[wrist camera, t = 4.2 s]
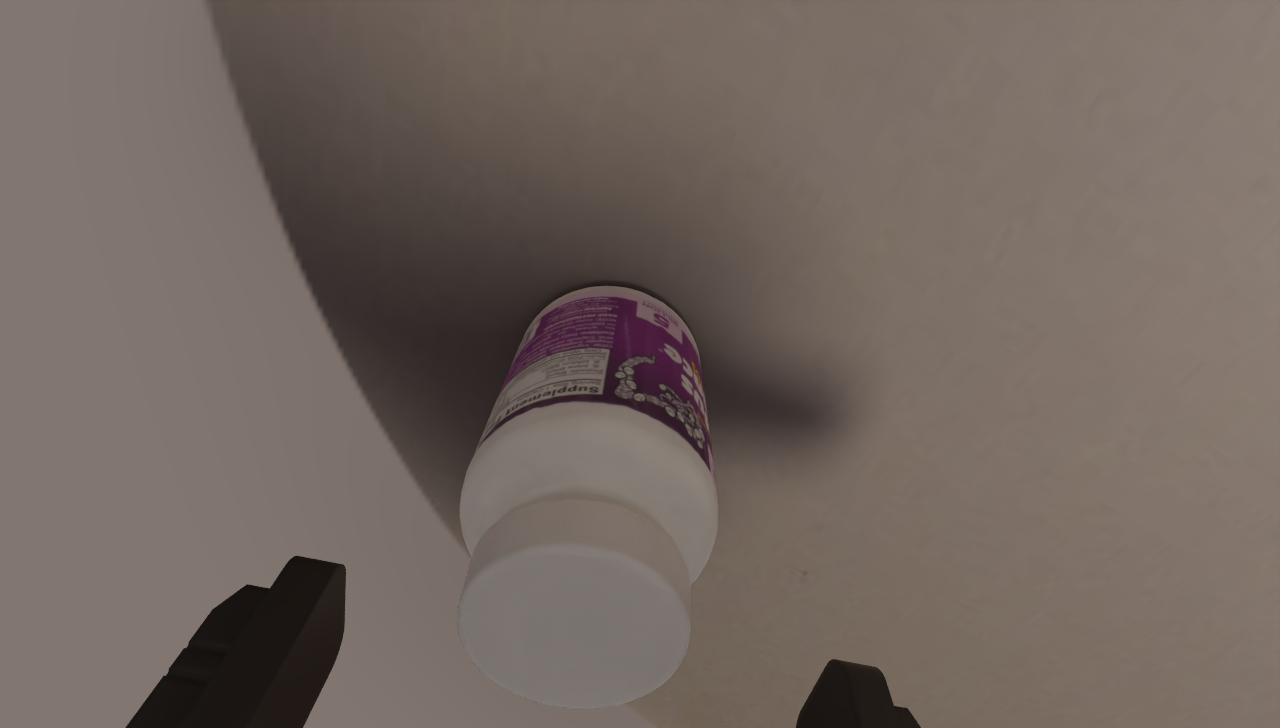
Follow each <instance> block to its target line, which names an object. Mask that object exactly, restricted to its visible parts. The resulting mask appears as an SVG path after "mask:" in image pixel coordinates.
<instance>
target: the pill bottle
mask: <svg viewBox="0 0 1280 728" xmlns="http://www.w3.org/2000/svg"><path fill="white" fill-rule="evenodd" d="M460 522H461V529H462V534H463V538H464V541H465V544H466V547H467V549H468V551H469V554H470V556H471V560H470V565H469V570H468V573H467V577H466V580H465V584H464V588H463V591H462V595H461V598H460V602H459V605H458V612H457V627H458V632H459V636H460V639H461V642H462V645H463V647H464V649H465V651H466V652H467V654H468V656H469V657H470V659H471V660H472V662H473V664H474V665H475V666H476V667H477V668H478V669H479V670H480V671H481V672H482V673H483V674H485V675H486V676H487V677H488V678H490V679H491V680H492V681H494V682H495V683H497V684H498V685H500V686H501V687H503V688H504V689H506V690H508V691H510V692H512V693H514V694H516V695H518V696H521V697H523V698H526V699H529V700H532V701H534V702H536V703H540V704H545V705H549V706H555V707H561V708H572V709H590V708H591V709H596V708H603V707H611V706H616V705H621V704H625V703H627V702H630V701H633V700H636V699H639V698H641V697H643V696H644V695H646V694H648V693H650V692H652V691H654V690H655V689H657V688H658V687H660V686H661V685H662V684H663V683H665V682H666V681H667V680H668V679H669V678H670V677H671V676H672V675H673V674H674V673H675V671H676V670H677V669H678V668H679V667H680V665H681V663H682V662H683V659H684V657H685V655H686V653H687V650H688V645H689V640H690V635H691V602H690V588H691V587H690V586H691V585H692V584H693V583H694V581H695V580H696V579H697V578H698V576H699V575H700V574H701V572H702V570H703V568H704V567H705V565H706V563H707V561H708V559H709V557H710V555H711V552H712V549H713V546H714V543H715V539H716V535H717V527H718V498H717V489H716V481H715V474H714V465H713V457H712V448H711V440H710V432H709V425H708V417H707V408H706V400H705V394H704V384H703V378H702V371H701V364H700V357H699V352H698V348H697V345H696V343H695V340H694V338H693V336H692V334H691V332H690V330H689V329H688V327H687V326H686V324H685V323H684V322H683V320H682V319H681V318H680V317H679V316H678V315H677V314H676V313H675V312H674V311H673V310H672V309H671V308H670V307H668V306H667V305H665V304H664V303H663V302H661V301H659V300H657V299H655V298H653V297H651V296H649V295H648V294H645V293H643V292H640V291H637V290H634V289H630V288H625V287H617V286H597V287H587V288H584V289H580V290H576V291H573V292H570V293H568V294H566V295H564V296H562V297H560V298H558V299H557V300H555V301H553V302H552V303H551V304H549V305H548V306H547V307H546V308H544V309H543V310H542V311H541V312H540V313H539V314H538V315H537V316H536V318H535V319H534V320H533V321H532V323H531V324H530V326H529V327H528V329H527V331H526V333H525V335H524V337H523V339H522V341H521V344H520V346H519V348H518V350H517V353H516V355H515V358H514V360H513V362H512V365H511V367H510V370H509V372H508V375H507V377H506V379H505V381H504V383H503V386H502V389H501V391H500V393H499V396H498V398H497V401H496V403H495V405H494V407H493V410H492V412H491V415H490V417H489V419H488V422H487V424H486V427H485V429H484V431H483V434H482V436H481V438H480V441H479V443H478V446H477V449H476V451H475V454H474V456H473V458H472V460H471V463H470V465H469V467H468V469H467V471H466V476H465V480H464V484H463V488H462V492H461V500H460Z"/></svg>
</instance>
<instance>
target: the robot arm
mask: <svg viewBox="0 0 1280 728" xmlns="http://www.w3.org/2000/svg"><path fill="white" fill-rule="evenodd" d="M345 582H346V569H345V566H344V565H342V564H337V563H332V562H326V561H321V560H316V559H311V558H306V557H300V556H294V557H293V558H292V559H290V560H289V561H288V563H287V564H286V565H285V567H284V568H283V570H282V571H281V573H280V574H279V576H278V577H277V579H276V581H275V582H274V583H273V585H272V586H271V588H270V589H269V588H263V587H258V586H253V585H246V586H244V587H243V588H241V589H240V590H239V591H237V592H236V593H235V594H233V595H232V596H231V597H229V598H228V599H226V600H225V601H224V602H222V603H221V604H219V605H218V606H217V607H215V608H214V609H213V610H212V611H211V612H210V614H209V615H208V616H207V618H206V619H205V621H204V622H203V623H202V625H201V626H200V627H199V629H198V630H197V632H196V633H195V634H194V636H193V637H192V638H191V640H190V641H189V644H188V647H187V648H184V649H183V650H182V652H181V653H180V655H179V656H178V657H177V659H176V660H175V661H174V663H173V664H172V665H171V667H170V668H169V672H168V674H167V675H166V676H163V678H162V679H161V680H160V682H159V683H158V684H157V686H156V687H155V688H154V690H153V691H152V693H151V694H150V695H149V697H148V698H147V699H146V701H145V702H144V703H143V705H142V706H141V708H140V709H139V710H138V712H137V713H136V714H135V716H134V717H133V718H132V720H131V721H130V722H129V724H128V725H127V726H126V728H303V726H304V724H305V722H306V720H307V718H308V716H309V714H310V712H311V710H312V708H313V706H314V704H315V702H316V700H317V698H318V696H319V694H320V692H321V690H322V688H323V686H324V684H325V682H326V680H327V678H328V676H329V673H330V672H331V670H332V668H333V665H334V663H335V660H336V658H337V655H338V652H339V649H340V646H341V642H342V638H343V633H344V623H345V585H346V583H345ZM796 728H921V727H920V726H919V724H918V723H917V721H916V720H915V718H914V717H913V716H912V714H911V713H910V711H909V710H908V708H902V707H897V706H894V705H893V702H892V698H891V695H890V692H889V689H888V686H887V683H886V680H885V677H884V675H883V673H882V672H881V671H880V670H879V669H878V668H876V667H872V666H867V665H862V664H856V663H851V662H846V661H841V660H835V659H833V660H831V661H829V662H828V664H827V665H826V667H825V669H824V670H823V672H822V674H821V676H820V677H819V679H818V681H817V683H816V685H815V686H814V688H813V690H812V692H811V693H810V695H809V697H808V699H807V700H806V702H805V704H804V706H803V708H802V709H801V711H800V714H799V716H798V720H797V725H796Z"/></svg>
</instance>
